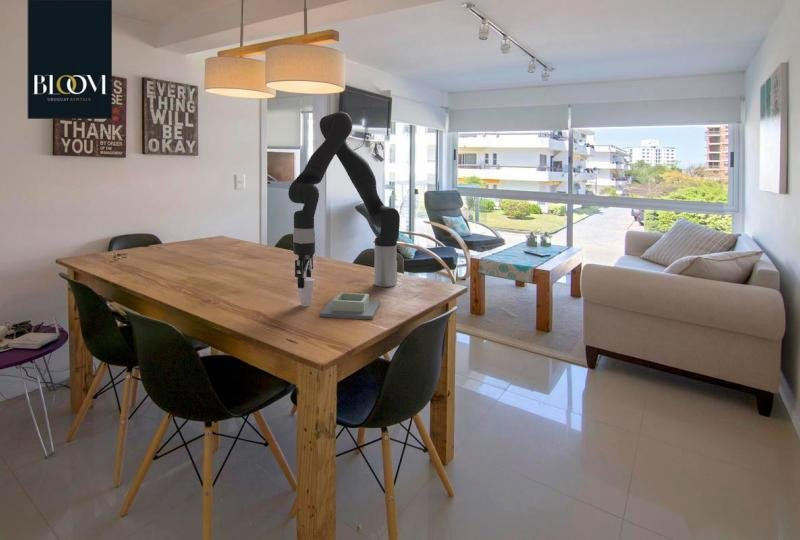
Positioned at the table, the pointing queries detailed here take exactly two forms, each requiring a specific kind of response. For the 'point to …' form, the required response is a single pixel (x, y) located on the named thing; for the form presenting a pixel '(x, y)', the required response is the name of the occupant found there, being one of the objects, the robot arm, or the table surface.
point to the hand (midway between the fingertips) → (304, 285)
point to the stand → (351, 306)
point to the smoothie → (306, 291)
